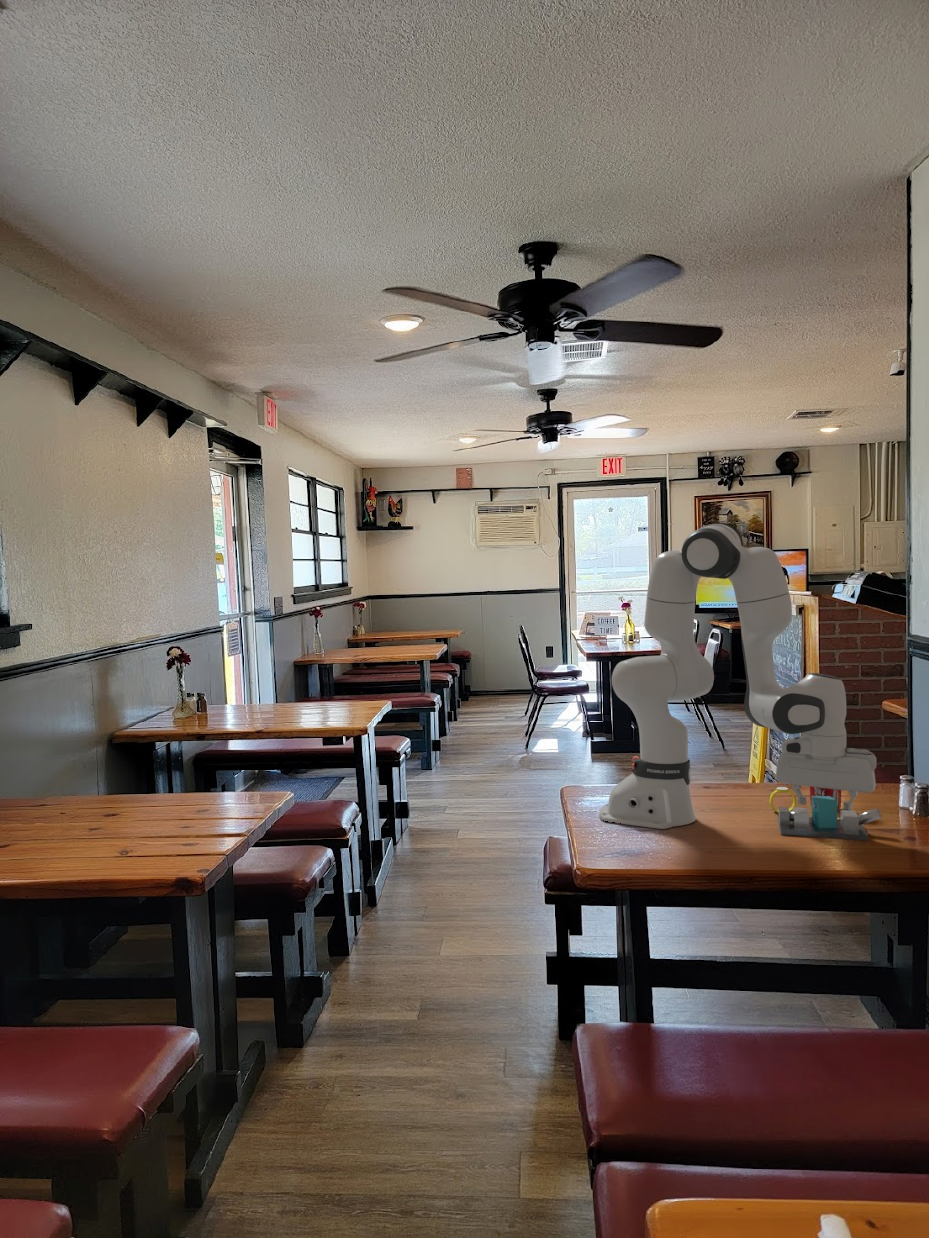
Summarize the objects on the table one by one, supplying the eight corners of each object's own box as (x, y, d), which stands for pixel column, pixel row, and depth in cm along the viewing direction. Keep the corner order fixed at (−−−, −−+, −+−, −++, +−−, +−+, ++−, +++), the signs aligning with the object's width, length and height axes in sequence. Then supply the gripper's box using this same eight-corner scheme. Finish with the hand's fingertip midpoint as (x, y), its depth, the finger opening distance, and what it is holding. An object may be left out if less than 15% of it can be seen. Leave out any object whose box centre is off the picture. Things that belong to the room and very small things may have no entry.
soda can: (844, 813, 191) (844, 764, 191) (813, 812, 193) (813, 763, 192) (837, 805, 198) (837, 757, 198) (806, 804, 199) (806, 757, 199)
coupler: (818, 827, 177) (818, 801, 177) (811, 822, 181) (811, 796, 181) (837, 827, 177) (837, 800, 177) (829, 822, 181) (829, 796, 180)
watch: (772, 814, 193) (770, 790, 192) (769, 811, 195) (767, 787, 195) (798, 813, 192) (796, 788, 192) (794, 809, 195) (792, 785, 195)
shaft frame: (780, 834, 177) (780, 808, 176) (777, 820, 187) (777, 795, 187) (886, 842, 170) (886, 815, 170) (877, 827, 180) (877, 801, 180)
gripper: (878, 747, 175) (878, 810, 175) (780, 739, 186) (780, 797, 187) (874, 753, 170) (874, 817, 170) (774, 743, 181) (774, 804, 182)
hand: (824, 807), depth 179 cm, fingers open, 8 cm apart
